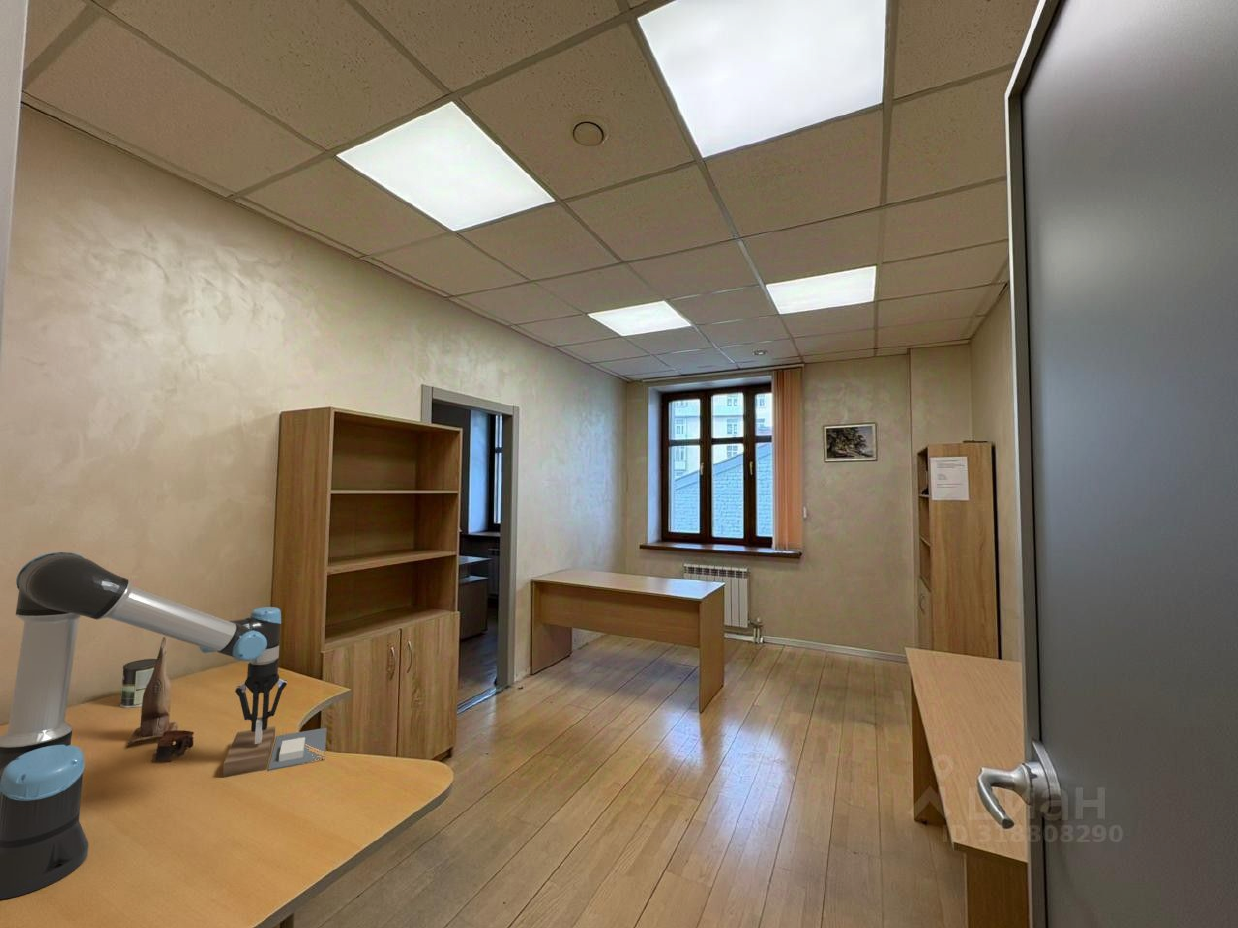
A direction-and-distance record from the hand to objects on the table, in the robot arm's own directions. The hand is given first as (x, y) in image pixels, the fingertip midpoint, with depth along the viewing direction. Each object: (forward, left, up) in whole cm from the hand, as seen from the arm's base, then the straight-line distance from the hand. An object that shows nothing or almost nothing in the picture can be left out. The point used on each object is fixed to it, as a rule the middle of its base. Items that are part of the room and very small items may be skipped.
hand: (258, 741), depth 152 cm
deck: (+3, +2, -5) cm, 6 cm away
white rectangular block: (0, -9, -3) cm, 9 cm away
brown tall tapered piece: (+29, +31, -6) cm, 43 cm away
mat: (+3, -10, -5) cm, 12 cm away
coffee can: (+65, +44, -6) cm, 79 cm away
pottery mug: (+13, +22, -6) cm, 26 cm away
